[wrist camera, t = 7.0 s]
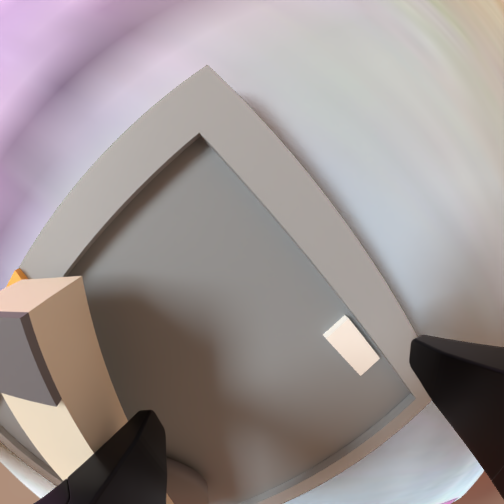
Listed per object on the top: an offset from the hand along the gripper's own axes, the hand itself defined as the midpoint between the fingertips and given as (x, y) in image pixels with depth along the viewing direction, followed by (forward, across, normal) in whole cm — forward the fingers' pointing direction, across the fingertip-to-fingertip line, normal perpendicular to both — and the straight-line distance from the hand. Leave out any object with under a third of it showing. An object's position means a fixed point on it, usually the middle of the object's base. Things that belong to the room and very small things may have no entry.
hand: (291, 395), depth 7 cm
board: (+3, +6, +4) cm, 7 cm away
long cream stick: (+1, +7, +2) cm, 7 cm away
